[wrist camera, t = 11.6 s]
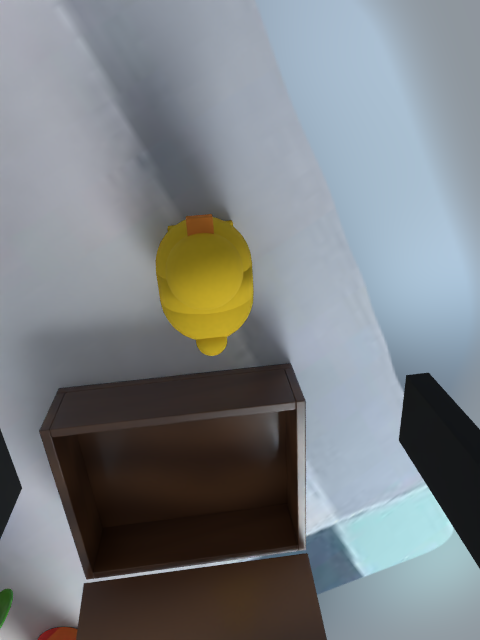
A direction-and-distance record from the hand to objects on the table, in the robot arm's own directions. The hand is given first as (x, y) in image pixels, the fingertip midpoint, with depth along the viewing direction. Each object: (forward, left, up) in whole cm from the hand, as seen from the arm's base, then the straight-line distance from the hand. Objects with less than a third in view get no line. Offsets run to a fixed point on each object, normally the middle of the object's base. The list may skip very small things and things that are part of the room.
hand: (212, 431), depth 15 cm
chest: (+17, -3, -19) cm, 26 cm away
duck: (0, 0, -19) cm, 19 cm away
